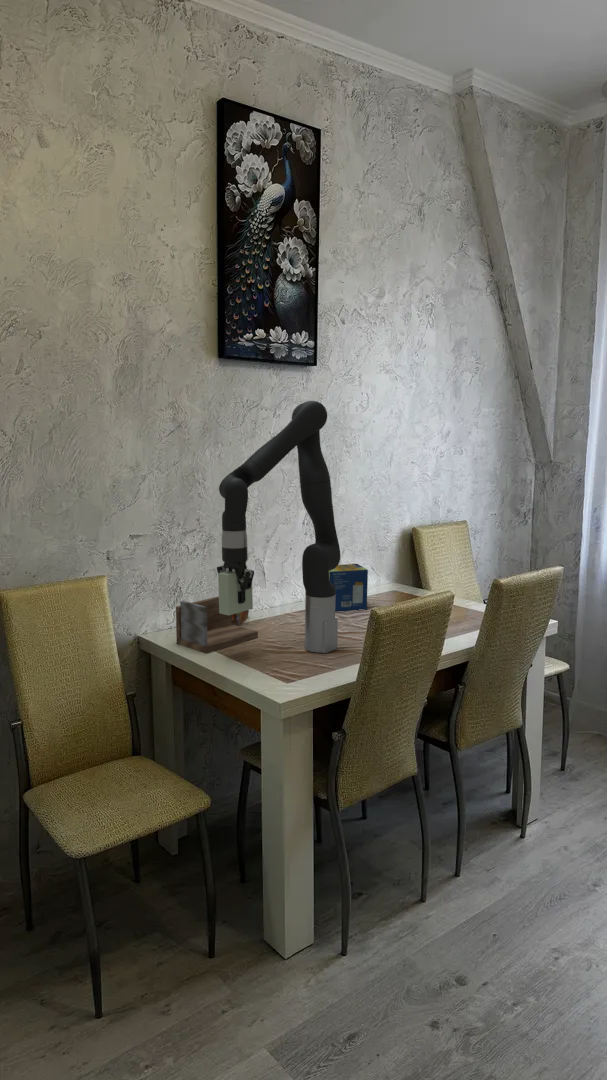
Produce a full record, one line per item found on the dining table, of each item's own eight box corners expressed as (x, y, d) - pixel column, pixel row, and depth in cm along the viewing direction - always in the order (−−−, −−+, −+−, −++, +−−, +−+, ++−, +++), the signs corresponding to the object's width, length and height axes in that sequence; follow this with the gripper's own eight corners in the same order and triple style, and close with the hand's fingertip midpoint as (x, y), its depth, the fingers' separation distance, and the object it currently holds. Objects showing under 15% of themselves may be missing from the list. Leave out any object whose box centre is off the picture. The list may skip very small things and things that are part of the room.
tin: (237, 629, 252) (237, 604, 250) (228, 628, 252) (228, 604, 251) (249, 617, 266) (249, 594, 265) (241, 616, 267) (241, 593, 266)
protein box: (319, 605, 282) (319, 565, 280) (357, 603, 287) (358, 563, 284) (328, 613, 273) (328, 571, 270) (367, 610, 277) (368, 569, 274)
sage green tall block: (252, 608, 226) (251, 569, 224) (228, 615, 218) (227, 575, 216) (243, 606, 228) (242, 568, 226) (219, 613, 221) (218, 573, 219)
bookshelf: (257, 637, 242) (257, 595, 240) (206, 653, 226) (205, 608, 224) (228, 628, 252) (227, 588, 249) (176, 643, 235) (175, 600, 233)
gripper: (260, 545, 218) (261, 603, 221) (226, 541, 228) (228, 596, 230) (242, 549, 213) (244, 608, 216) (208, 544, 222) (210, 600, 225)
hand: (235, 601), depth 223 cm, fingers closed on sage green tall block, 4 cm apart
